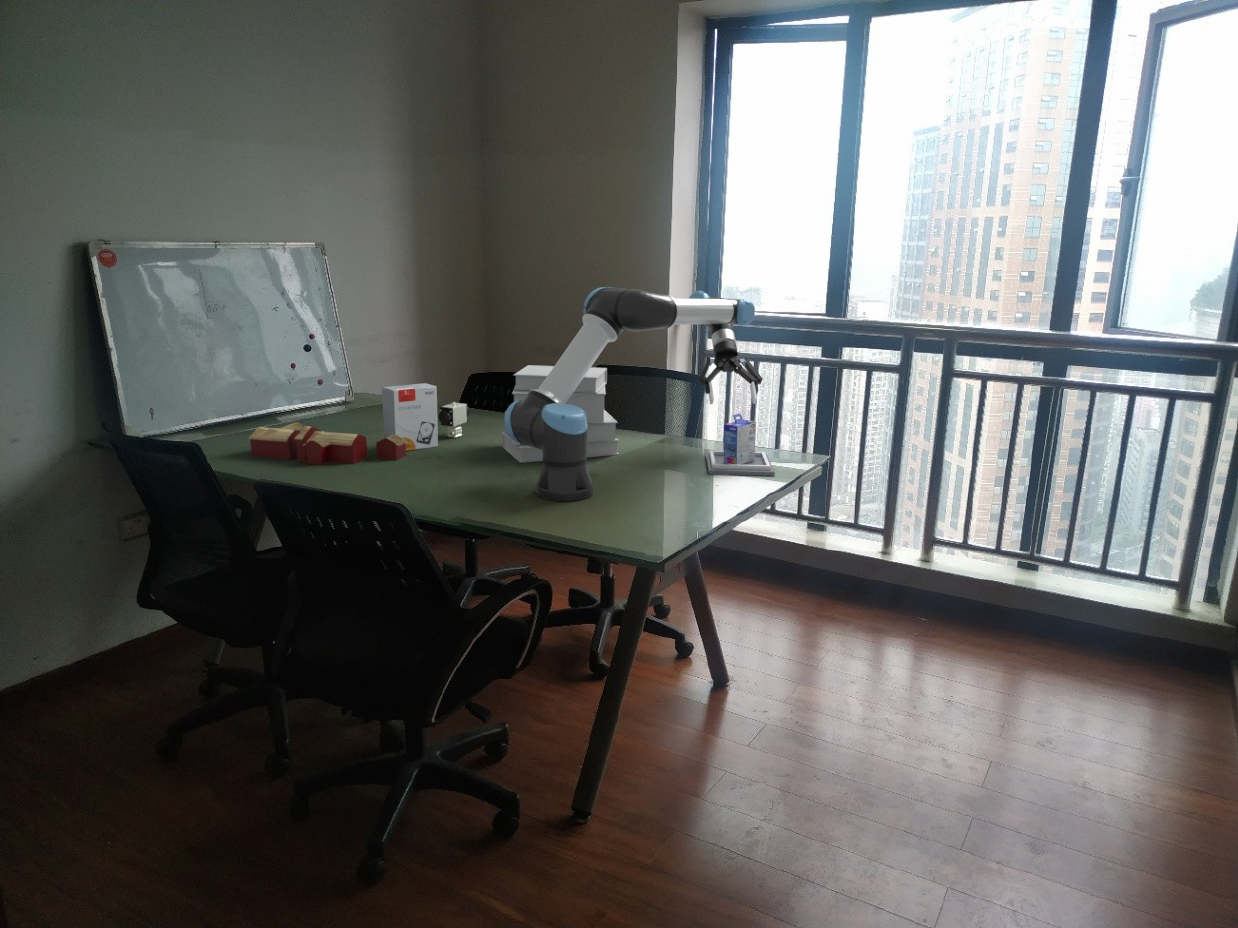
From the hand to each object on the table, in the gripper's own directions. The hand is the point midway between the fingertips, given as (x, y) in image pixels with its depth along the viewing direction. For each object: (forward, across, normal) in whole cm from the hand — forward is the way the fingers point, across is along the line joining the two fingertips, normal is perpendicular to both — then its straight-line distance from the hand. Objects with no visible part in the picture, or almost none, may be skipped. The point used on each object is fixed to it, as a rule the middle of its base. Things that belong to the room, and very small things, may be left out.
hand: (733, 401), depth 267 cm
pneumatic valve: (-10, +88, -36) cm, 95 cm away
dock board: (+20, 0, -5) cm, 20 cm away
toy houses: (+7, +124, -19) cm, 125 cm away
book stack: (+5, +53, -21) cm, 57 cm away
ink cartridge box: (+19, 0, -5) cm, 20 cm away
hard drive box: (0, +100, -25) cm, 103 cm away
